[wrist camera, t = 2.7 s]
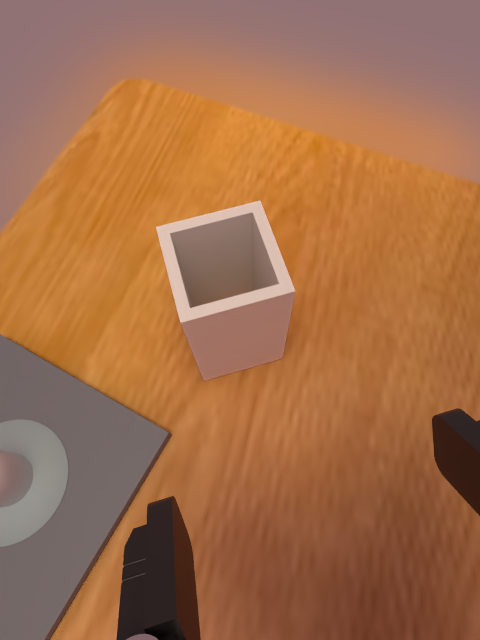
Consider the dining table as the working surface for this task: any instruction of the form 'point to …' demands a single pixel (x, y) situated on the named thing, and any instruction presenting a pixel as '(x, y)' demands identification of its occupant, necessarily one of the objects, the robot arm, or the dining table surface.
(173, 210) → the dining table surface
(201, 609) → the dining table surface
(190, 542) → the robot arm
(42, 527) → the post plate
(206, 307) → the sleeve
